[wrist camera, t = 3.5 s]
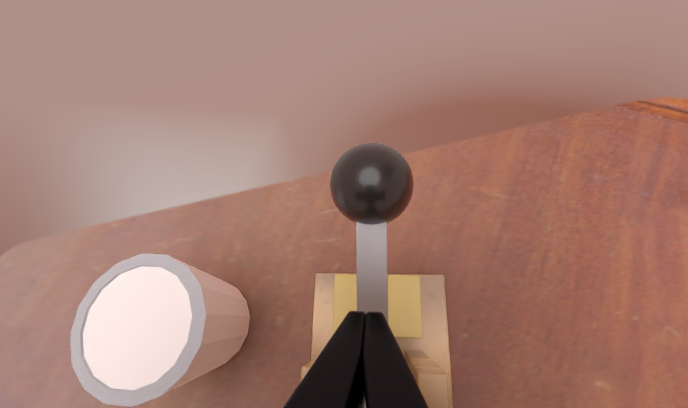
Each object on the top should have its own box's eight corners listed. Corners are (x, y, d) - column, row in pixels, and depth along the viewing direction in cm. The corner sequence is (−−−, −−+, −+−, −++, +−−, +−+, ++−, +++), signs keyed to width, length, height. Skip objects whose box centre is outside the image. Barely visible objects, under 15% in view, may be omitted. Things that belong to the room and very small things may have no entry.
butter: (414, 282, 20) (419, 274, 17) (416, 334, 19) (422, 338, 16) (343, 280, 21) (334, 273, 18) (341, 332, 20) (332, 335, 17)
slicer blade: (336, 150, 14) (322, 137, 11) (409, 148, 13) (416, 134, 10) (340, 434, 14) (327, 497, 11) (412, 439, 14) (420, 506, 11)
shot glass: (144, 362, 22) (40, 381, 15) (184, 260, 24) (107, 239, 17) (238, 394, 21) (169, 430, 14) (272, 284, 23) (225, 270, 16)
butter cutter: (318, 274, 22) (271, 244, 13) (441, 276, 21) (482, 245, 12) (306, 515, 18) (224, 715, 9) (457, 532, 17) (536, 774, 8)
